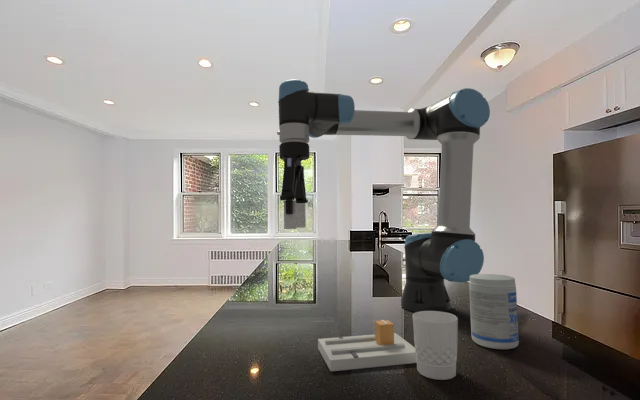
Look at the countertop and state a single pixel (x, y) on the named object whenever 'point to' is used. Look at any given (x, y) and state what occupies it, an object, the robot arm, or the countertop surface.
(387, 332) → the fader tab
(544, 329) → the countertop surface
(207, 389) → the countertop surface
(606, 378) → the countertop surface
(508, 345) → the supplement tub
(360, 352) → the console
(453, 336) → the white cup
